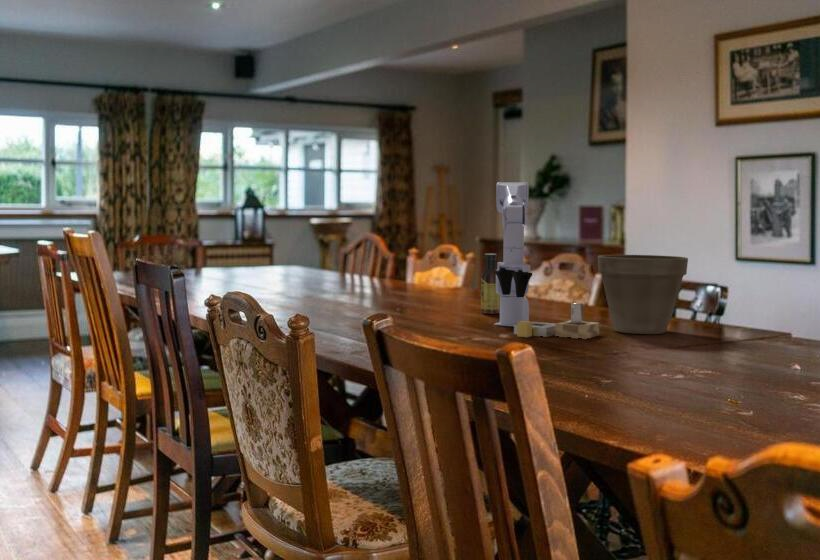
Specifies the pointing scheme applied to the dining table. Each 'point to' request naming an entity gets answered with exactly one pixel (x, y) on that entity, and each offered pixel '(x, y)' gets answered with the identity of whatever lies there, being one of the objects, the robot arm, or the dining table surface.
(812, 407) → the dining table surface
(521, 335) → the yellow block
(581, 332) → the rack
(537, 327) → the socket block
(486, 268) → the sauce bottle
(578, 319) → the drill peg
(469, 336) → the dining table surface
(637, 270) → the plant pot
